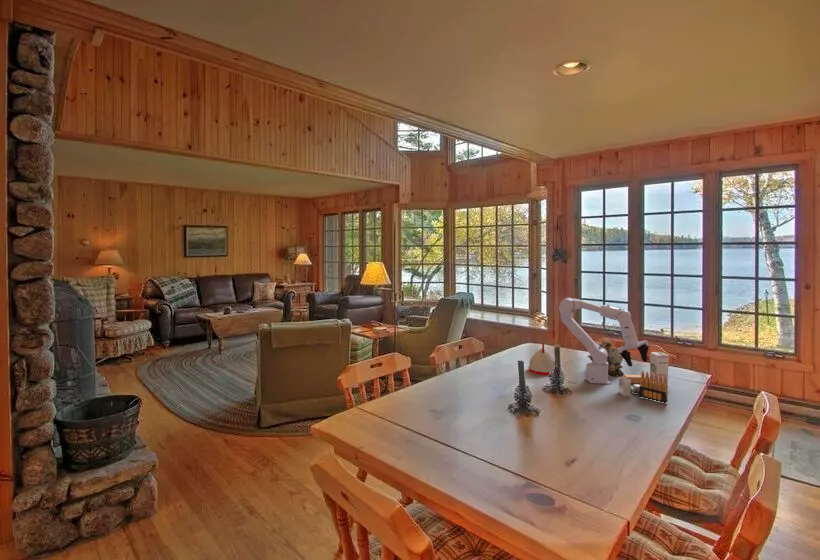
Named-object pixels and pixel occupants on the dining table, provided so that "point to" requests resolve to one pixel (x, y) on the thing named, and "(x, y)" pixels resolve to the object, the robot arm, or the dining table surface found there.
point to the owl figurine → (611, 358)
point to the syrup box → (659, 365)
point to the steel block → (624, 385)
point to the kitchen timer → (541, 362)
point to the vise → (635, 387)
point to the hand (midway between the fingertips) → (637, 363)
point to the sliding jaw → (634, 378)
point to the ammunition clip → (653, 387)
